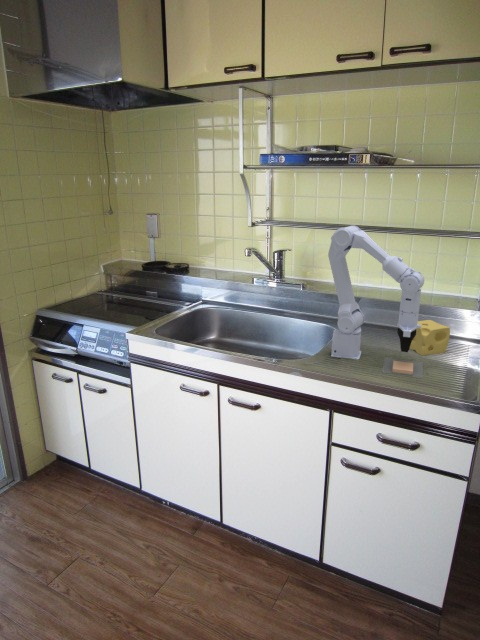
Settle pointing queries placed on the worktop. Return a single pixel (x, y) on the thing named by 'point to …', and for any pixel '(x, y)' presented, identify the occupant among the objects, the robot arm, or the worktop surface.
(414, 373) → the mat
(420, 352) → the cheese
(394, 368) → the tile
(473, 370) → the worktop surface
